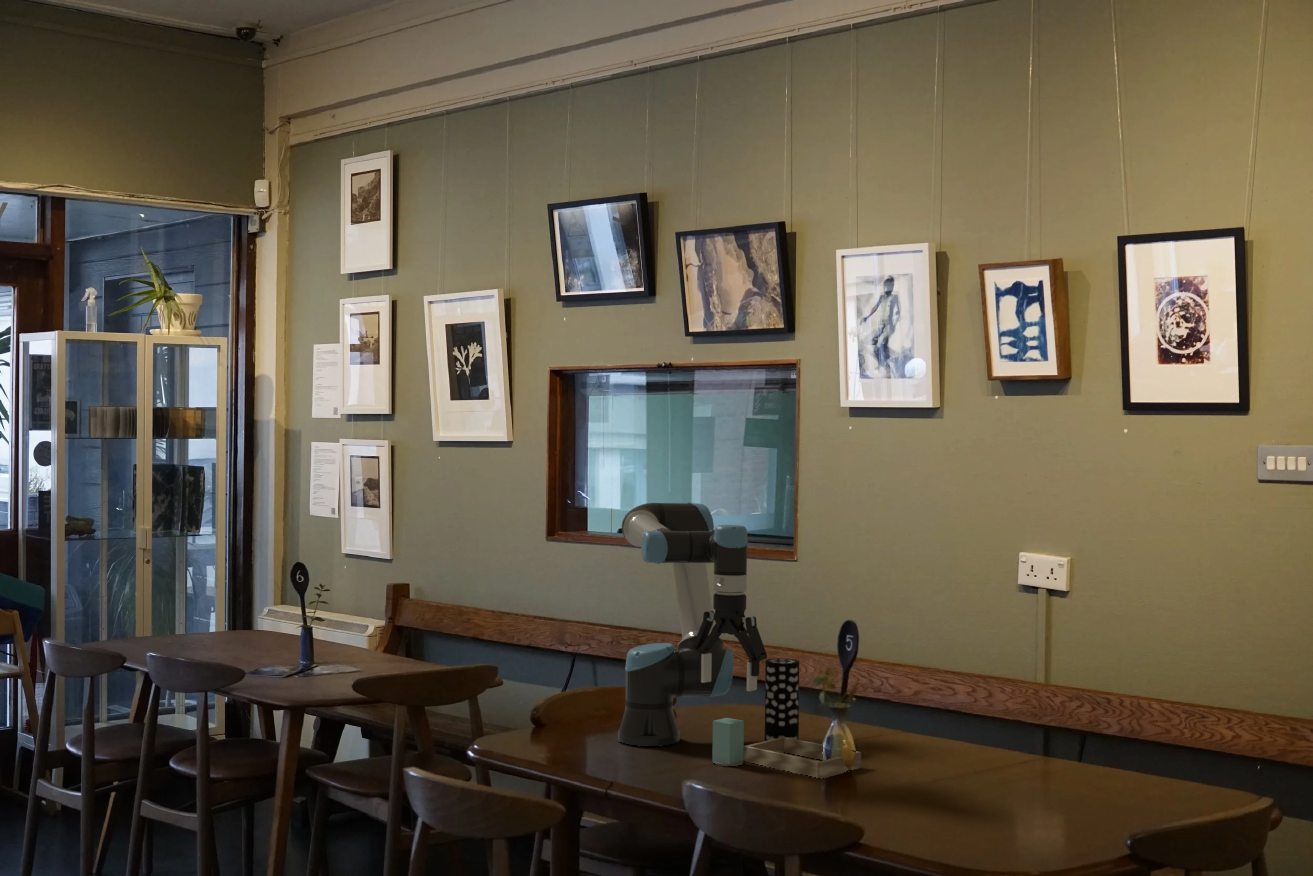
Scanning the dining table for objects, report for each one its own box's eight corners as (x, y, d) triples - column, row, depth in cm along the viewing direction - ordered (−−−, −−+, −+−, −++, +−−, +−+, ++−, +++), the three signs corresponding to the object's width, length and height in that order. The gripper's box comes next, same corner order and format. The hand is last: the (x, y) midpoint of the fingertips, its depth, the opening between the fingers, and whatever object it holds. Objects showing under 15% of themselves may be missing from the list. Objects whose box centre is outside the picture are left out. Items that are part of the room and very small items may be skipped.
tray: (743, 761, 285) (743, 746, 285) (783, 751, 296) (783, 736, 296) (821, 779, 270) (821, 763, 270) (860, 767, 281) (861, 752, 281)
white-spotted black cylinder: (798, 740, 309) (799, 659, 310) (798, 747, 301) (799, 664, 301) (764, 738, 310) (765, 658, 310) (764, 746, 302) (765, 663, 302)
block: (712, 760, 284) (712, 720, 284) (726, 757, 287) (726, 717, 288) (729, 764, 280) (729, 724, 280) (743, 760, 284) (743, 721, 284)
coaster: (706, 763, 284) (706, 760, 284) (726, 758, 289) (726, 755, 289) (729, 768, 279) (730, 765, 279) (749, 763, 284) (749, 760, 284)
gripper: (678, 589, 291) (677, 680, 290) (762, 599, 273) (760, 696, 273) (700, 587, 296) (698, 676, 296) (783, 596, 279) (782, 691, 279)
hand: (728, 686), depth 285 cm, fingers open, 13 cm apart
